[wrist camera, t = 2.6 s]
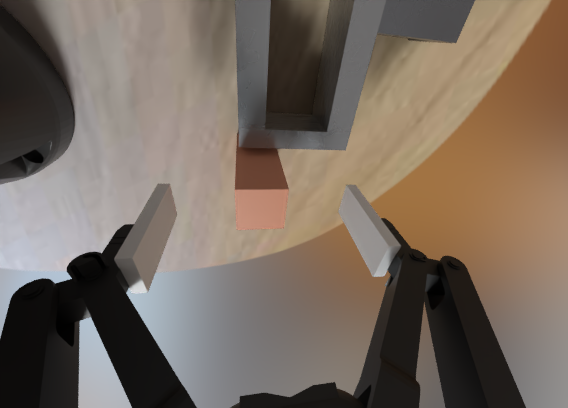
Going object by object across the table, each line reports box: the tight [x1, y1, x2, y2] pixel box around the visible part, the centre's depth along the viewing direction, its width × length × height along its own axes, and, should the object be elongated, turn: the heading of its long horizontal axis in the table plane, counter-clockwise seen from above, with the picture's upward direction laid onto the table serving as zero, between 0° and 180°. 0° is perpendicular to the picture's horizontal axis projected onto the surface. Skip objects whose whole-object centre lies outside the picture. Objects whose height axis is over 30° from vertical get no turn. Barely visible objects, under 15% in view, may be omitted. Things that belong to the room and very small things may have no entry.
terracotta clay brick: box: [235, 134, 289, 230], centre depth 20 cm, size 4×4×10 cm
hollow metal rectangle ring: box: [235, 0, 475, 150], centre depth 16 cm, size 16×19×5 cm
